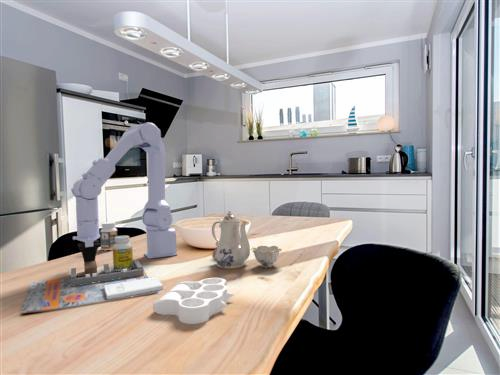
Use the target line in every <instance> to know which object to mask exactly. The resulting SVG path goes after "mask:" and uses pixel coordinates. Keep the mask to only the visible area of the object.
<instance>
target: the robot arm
mask: <svg viewBox="0 0 500 375" xmlns="http://www.w3.org/2000/svg"><path fill="white" fill-rule="evenodd" d="M161 133H162V132H161V129H160V128H158V126H157V125H156V124H155V123H153V122H149V121H147V122H144V123H141V124H137V125H136V124H134V125H131V126H130V127H129V128H127V130H125V131H124V132H123V134H122V136H121V137H120V139H119V140H118V141H117V142H116V143H115V145H114V146H113V148H111V150H110V151H109V152H108V154H107V155H106V156H105V157H104V158H103V157H101V158H98V159H95V160H93V161H92V163H91V164H92V165H91V167H90V168H89V169H88V170H87V171H86V172H85V173H84V172H83V173H82V174H81V177H82V178H81V179H78V180H76V181H75V182H74V184H73V186H72V188H71V193H72V195H73V196H74V197H75V213H76V214H75V218H76V234H77V236H75V235H74V236H72V240H73V241H75V240H77V241H80V242H79V243H77V247H78V250H80V253H81V255H82V258H83V263H84V262H88V261H96V257H97V251H98V250H99V247H100V246H101V242H100V240H98V239H101V235H100V225H99V224H100V222H99V220H100V219H99V204H98V203H99V200H98V197H99V196H100V195H101V193H102V187H103V186H104V185H105V184H106V183H107V181H108V180H109V179H110V178H111V177H112V175H113V174H114V173H115V172H116V164H117V163H118V162H119V161H120V160H121V159H122V158H123V157H124V156H125V154H126V153H127V152H128V151H129V150H130V149H131V148H133V147H136V146H137V147H139V148H141V149H142V150H144V152H146V153H147V155H148V156H147V157H148V158H147V159H148V161H147V163H148V164H147V165H148V166H147V173H148V176H147V177H148V178H147V180H148V183H147V186H148V189H147V190H148V193H147V194H148V195H147V199H148V200H147V202H146V203H145V205H144V210H143V213H142V216H141V221H142V223H143V225H144V226H145V229H146V251H145V252H144V255H145V256H146V257H147V258H148V259H154V258H155V259H157V258H162V257H163V258H164V257H171V256H177V255H178V253H177V251H178V250H177V235H176V234H177V233H176V229H175V228H174V227H171V226H172V224H173V219H174V218H173V215H172V212H171V205H170V204H168V202H167V201H166V148H165V145H164V142H163V140H162V137H161V136H162V134H161Z"/></svg>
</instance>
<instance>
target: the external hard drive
mask: <svg viewBox="0 0 500 375" xmlns="http://www.w3.org/2000/svg"><path fill="white" fill-rule="evenodd" d="M103 290H105V291H104V293H105V297H106V300H113V299H118V298H122V297H128V296H134V295H139V294H140V293H141V294H145V293H151V291H152V292H156V291H162V290H164V285H163V284H162V282H161V281H160V280H159V278H157V276H152V277H146V278H140V279H139V278H138V279H134V280H128V281H124V282H118V283H112V284H105V285H103Z"/></svg>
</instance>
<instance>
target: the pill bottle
mask: <svg viewBox="0 0 500 375" xmlns="http://www.w3.org/2000/svg"><path fill="white" fill-rule="evenodd" d="M99 234H100V250H101V251H103V250H104V252H106V251H107V250H110V251H113V245H114V244H116V242H115V237H117V236H118V229H117V228H116V222H115V221H108V222H107V221H106V222H102V223H101V229H100V230H99ZM107 252H108V251H107Z"/></svg>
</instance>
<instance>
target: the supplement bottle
mask: <svg viewBox="0 0 500 375" xmlns="http://www.w3.org/2000/svg"><path fill="white" fill-rule="evenodd" d="M130 241H131V240H130V235H117V237H115V242H116V244H114V245H113V250H112V260H113V261H112V262H113V263H112V264H113V270H114V271H115V272H117V271H118V272H119V271H123V269H127V271H129V270H133V268H134V264H133V260H134V259H133V258H134V257H133V256H134V255H133V244H132V243H131V242H130Z"/></svg>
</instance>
